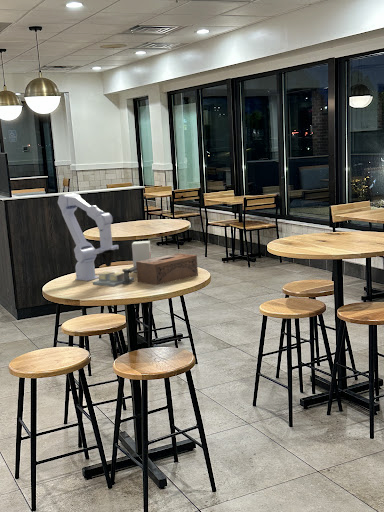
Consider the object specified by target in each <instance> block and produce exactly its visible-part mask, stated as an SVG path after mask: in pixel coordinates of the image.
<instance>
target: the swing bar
mask: <svg viewBox="0 0 384 512" xmlns="http://www.w3.org/2000/svg"><path fill="white" fill-rule="evenodd" d="M136 270H137V267H136V266H132V267H130V268H123V269H122V272H121V273H124V272H129V274H131V273H135V272H134V271H136Z"/></svg>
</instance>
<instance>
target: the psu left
mask: <svg viewBox="0 0 384 512" xmlns="http://www.w3.org/2000/svg"><path fill="white" fill-rule="evenodd" d="M114 273H116V272H115V271H114V272H113V271H106V272H102V273H101V272H100V273H99V274H98V277H99V278H98V280H102V281H108V280H110V279H109V275H111V274H114Z"/></svg>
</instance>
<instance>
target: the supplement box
mask: <svg viewBox="0 0 384 512" xmlns="http://www.w3.org/2000/svg"><path fill="white" fill-rule="evenodd" d="M131 251H132V264H133V266H132V267H134V266H136V262H137V261H142V260H147V259H152V252H151V251H152V250H151V240H142V241H141V240H139V241H133V242H132V243H131ZM133 273H137V270H136V271H134V272H133Z"/></svg>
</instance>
